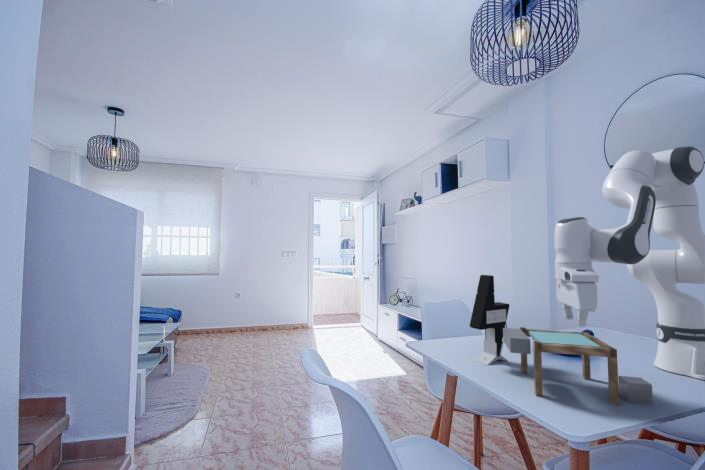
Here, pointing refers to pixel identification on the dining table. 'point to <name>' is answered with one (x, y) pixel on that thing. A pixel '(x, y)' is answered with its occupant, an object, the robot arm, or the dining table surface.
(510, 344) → the trapdoor
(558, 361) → the dining table surface
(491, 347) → the award
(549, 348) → the frame
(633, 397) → the weight
